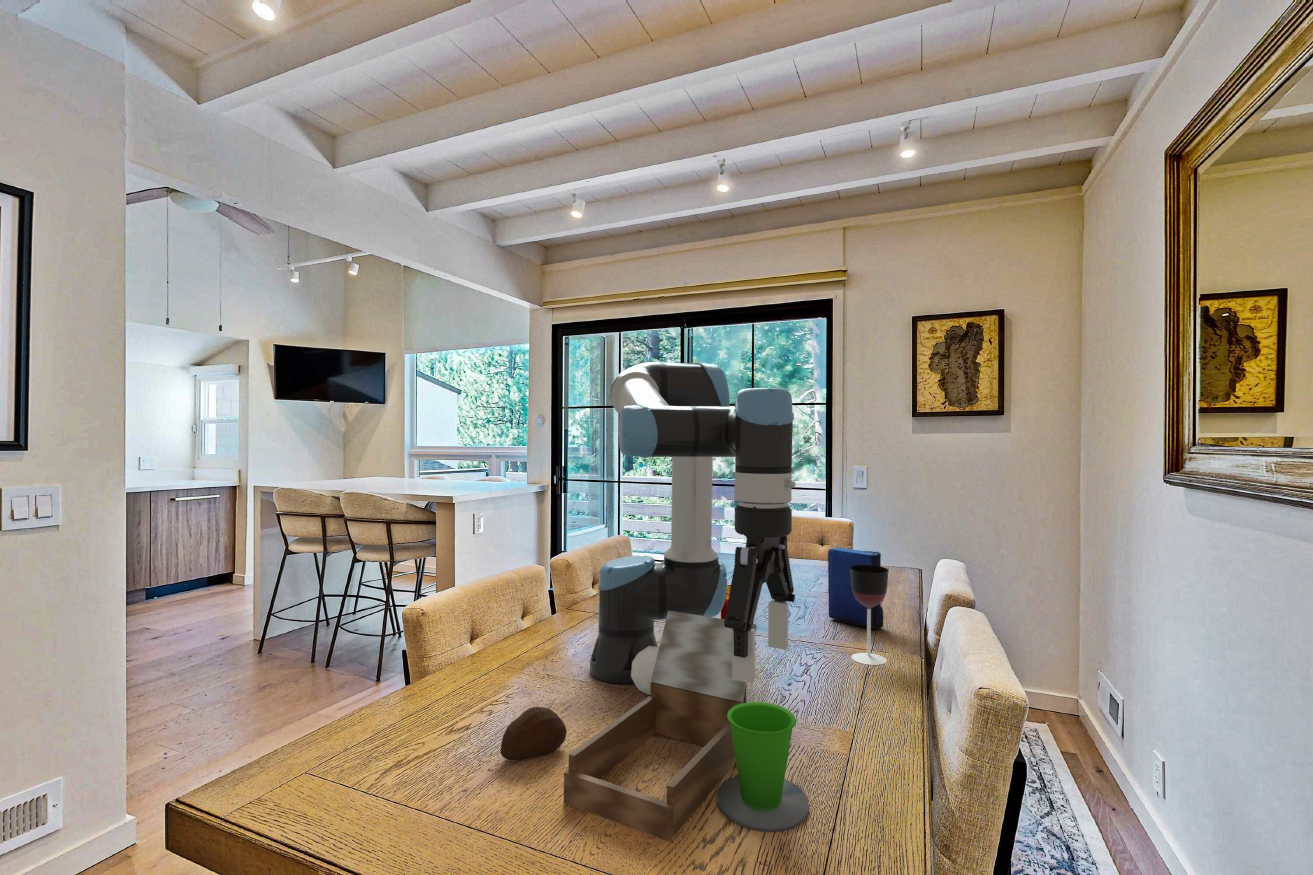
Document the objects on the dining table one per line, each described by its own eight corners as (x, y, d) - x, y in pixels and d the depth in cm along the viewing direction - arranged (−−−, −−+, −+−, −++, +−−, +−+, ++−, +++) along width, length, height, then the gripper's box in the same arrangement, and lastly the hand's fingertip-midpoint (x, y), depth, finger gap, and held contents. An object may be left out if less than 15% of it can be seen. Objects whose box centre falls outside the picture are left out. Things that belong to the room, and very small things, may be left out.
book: (885, 628, 158) (886, 551, 158) (875, 632, 155) (875, 553, 155) (836, 616, 169) (836, 544, 169) (825, 620, 165) (826, 546, 166)
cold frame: (563, 802, 81) (564, 662, 82) (669, 715, 107) (670, 609, 108) (669, 841, 74) (670, 686, 74) (756, 737, 100) (756, 623, 100)
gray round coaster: (702, 813, 79) (702, 807, 79) (736, 770, 90) (737, 764, 90) (792, 843, 73) (792, 836, 73) (819, 793, 84) (819, 787, 84)
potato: (491, 755, 94) (492, 709, 94) (553, 735, 100) (553, 692, 100) (510, 774, 88) (510, 726, 88) (574, 753, 94) (574, 707, 95)
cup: (798, 824, 76) (798, 734, 76) (724, 816, 77) (724, 728, 77) (794, 784, 85) (794, 704, 85) (728, 777, 86) (728, 699, 86)
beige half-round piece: (615, 683, 117) (659, 711, 108) (630, 636, 118) (674, 660, 109) (645, 685, 123) (689, 711, 114) (659, 640, 124) (703, 663, 115)
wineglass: (848, 662, 134) (848, 570, 134) (851, 650, 142) (851, 563, 142) (887, 667, 131) (887, 574, 131) (888, 654, 139) (888, 566, 139)
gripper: (757, 517, 69) (755, 704, 69) (815, 497, 91) (814, 640, 91) (697, 512, 73) (695, 690, 73) (767, 494, 94) (766, 632, 95)
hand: (761, 663), depth 82 cm, fingers open, 13 cm apart
